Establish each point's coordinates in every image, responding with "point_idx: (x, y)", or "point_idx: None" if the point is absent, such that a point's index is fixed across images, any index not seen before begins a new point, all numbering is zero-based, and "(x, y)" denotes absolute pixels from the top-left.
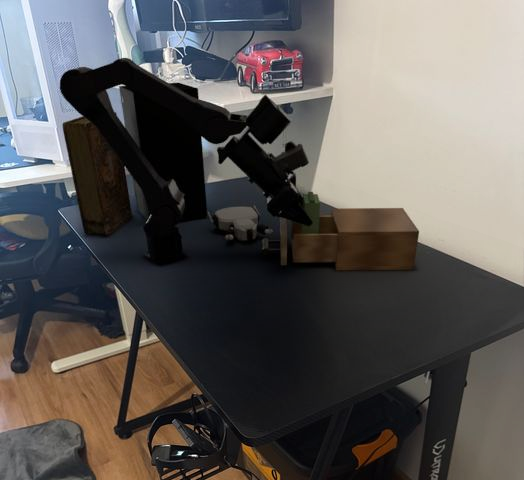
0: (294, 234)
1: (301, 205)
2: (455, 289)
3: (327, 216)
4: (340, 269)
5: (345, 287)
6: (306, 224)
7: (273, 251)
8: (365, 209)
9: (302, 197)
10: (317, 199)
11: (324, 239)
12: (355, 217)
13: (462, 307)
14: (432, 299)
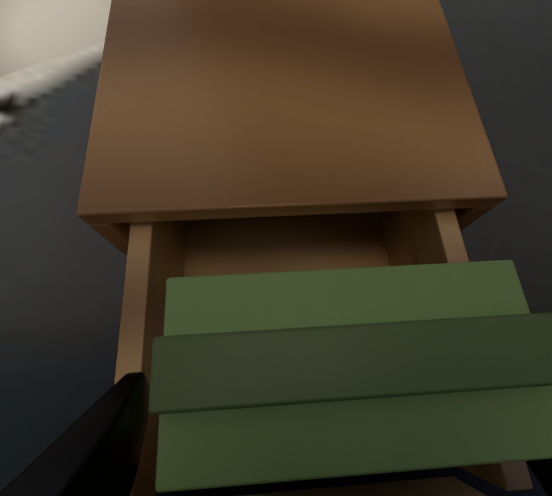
0: (518, 482)
1: (127, 462)
2: (462, 12)
3: (148, 251)
4: None
5: (533, 244)
6: None
7: None
8: (125, 49)
9: (74, 477)
10: (391, 283)
11: None
12: (260, 102)
13: (549, 19)
14: (531, 59)
